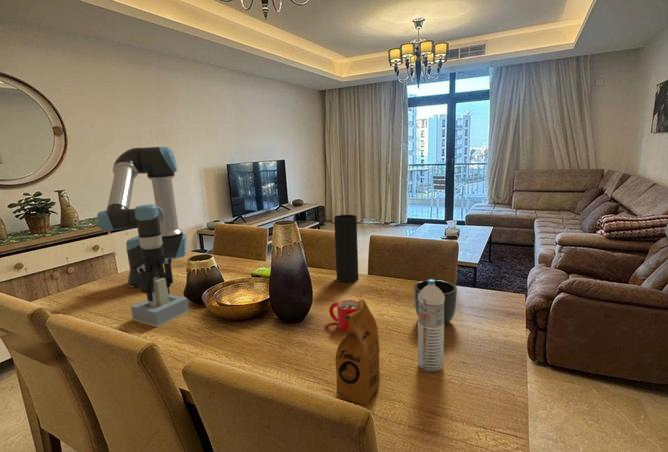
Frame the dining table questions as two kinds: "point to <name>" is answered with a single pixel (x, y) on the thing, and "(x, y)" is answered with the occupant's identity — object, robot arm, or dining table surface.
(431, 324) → the water bottle
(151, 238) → the robot arm
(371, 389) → the coffee package
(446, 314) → the planter
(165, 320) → the socket
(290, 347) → the dining table surface
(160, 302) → the box
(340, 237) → the vase
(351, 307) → the mug
